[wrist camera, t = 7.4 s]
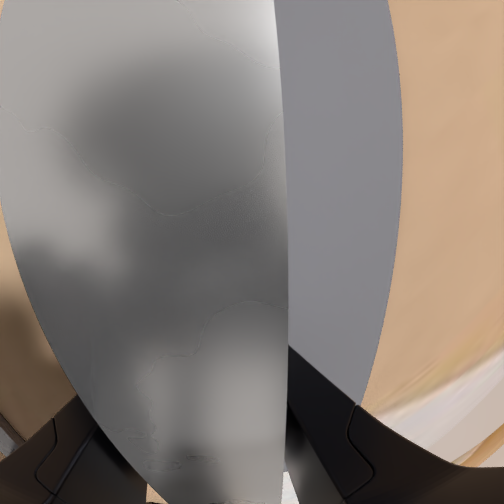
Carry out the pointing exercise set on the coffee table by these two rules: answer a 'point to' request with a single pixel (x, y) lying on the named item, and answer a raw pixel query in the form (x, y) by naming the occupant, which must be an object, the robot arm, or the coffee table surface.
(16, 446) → the grey stand
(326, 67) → the mat
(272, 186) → the rail
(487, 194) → the coffee table surface
